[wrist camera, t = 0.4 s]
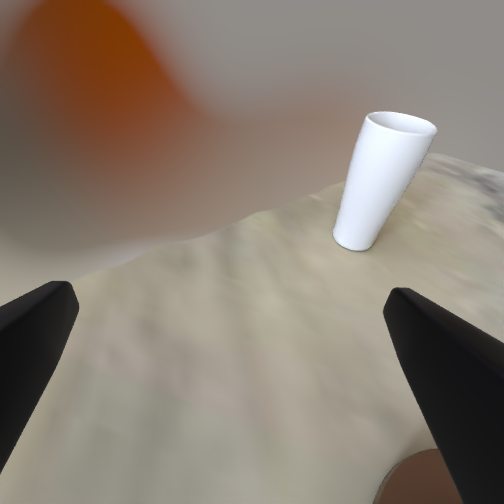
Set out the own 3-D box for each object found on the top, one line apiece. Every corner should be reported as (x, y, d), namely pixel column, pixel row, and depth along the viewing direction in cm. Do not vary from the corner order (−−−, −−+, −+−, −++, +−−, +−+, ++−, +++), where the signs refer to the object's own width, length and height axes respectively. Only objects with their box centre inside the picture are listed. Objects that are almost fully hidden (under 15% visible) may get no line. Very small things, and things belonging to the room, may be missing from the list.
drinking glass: (370, 226, 39) (422, 114, 28) (383, 259, 34) (452, 138, 23) (323, 222, 39) (358, 108, 29) (329, 254, 34) (374, 130, 24)
